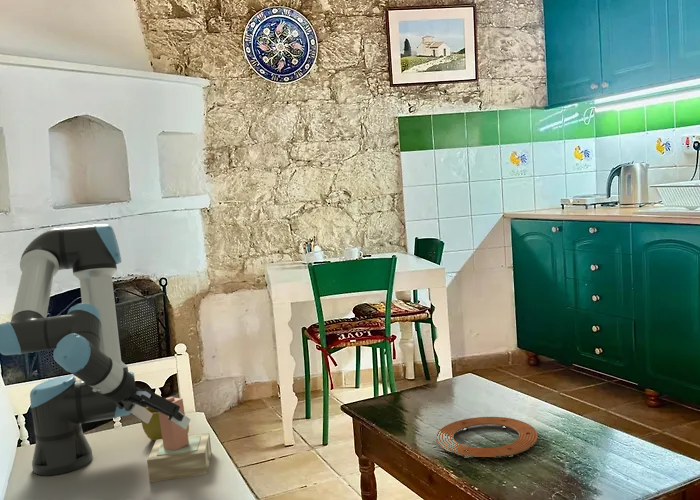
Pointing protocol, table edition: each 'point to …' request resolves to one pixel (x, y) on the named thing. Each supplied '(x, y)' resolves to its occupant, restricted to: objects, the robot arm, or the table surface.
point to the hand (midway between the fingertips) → (168, 421)
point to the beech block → (180, 459)
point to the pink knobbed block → (173, 429)
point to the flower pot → (153, 426)
